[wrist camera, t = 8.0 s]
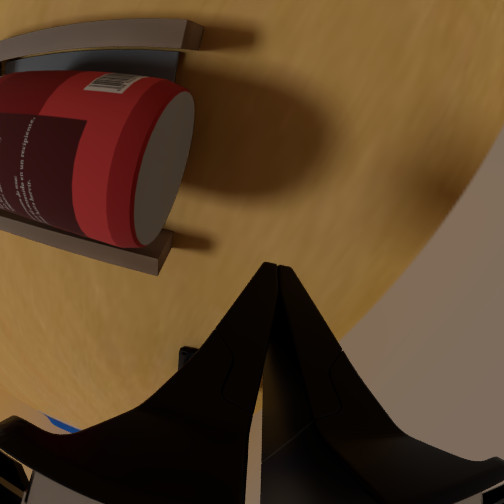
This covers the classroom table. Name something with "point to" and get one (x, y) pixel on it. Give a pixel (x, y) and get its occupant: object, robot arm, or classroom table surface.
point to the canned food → (94, 151)
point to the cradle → (88, 36)
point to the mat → (104, 62)
